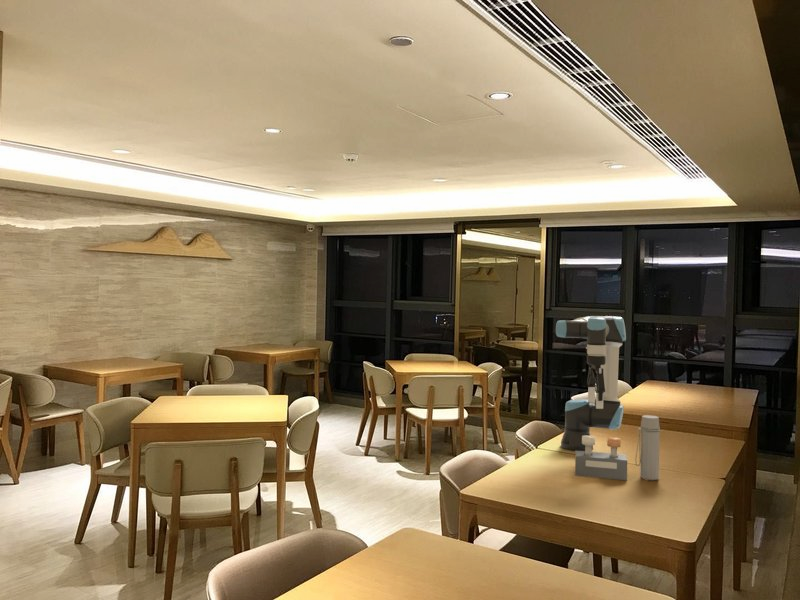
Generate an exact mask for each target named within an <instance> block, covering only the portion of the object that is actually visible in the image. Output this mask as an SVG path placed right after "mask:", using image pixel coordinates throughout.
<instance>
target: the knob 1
mask: <svg viewBox="0 0 800 600" xmlns="http://www.w3.org/2000/svg"><path fill="white" fill-rule="evenodd" d="M582 444H583V445H585V455H591V452H592V450H591V445H593V446H595V445H596V436H594V435H590V436H589V435H584V436H582Z"/></svg>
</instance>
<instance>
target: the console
mask: <svg viewBox="0 0 800 600" xmlns="http://www.w3.org/2000/svg"><path fill="white" fill-rule="evenodd" d="M574 462H575V465H574V470H575V471H574V477H575V476H576V477H584V478H585V477H586V478H594V479H608V480H617V481H628V457H627V455H626V454H624V453H623V454H621V453H617V458H615V457H611V452H610V453H609V452H600V451H599V452H597V451H595V452H594V451H591V455H585V451H575V461H574Z"/></svg>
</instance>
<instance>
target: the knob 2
mask: <svg viewBox="0 0 800 600" xmlns="http://www.w3.org/2000/svg"><path fill="white" fill-rule="evenodd" d="M621 440H622V439H621V438H619V437H615V436H613V437H612V436H611V437H610V436H608V437H607V441H606V444H607V445H606V446H607V447H609V448H610V453H611V457H615V458H617V454H618V448H621V443H622V441H621Z"/></svg>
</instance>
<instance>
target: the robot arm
mask: <svg viewBox="0 0 800 600" xmlns="http://www.w3.org/2000/svg"><path fill="white" fill-rule="evenodd" d="M555 335H556V337H558V338H564V339H566V338H568V339H569V338H571V339H575V338H576V339H585V340H586V347H585V349H586V353H587V355H586V364H587V365H588V373H587V380H586V385H587V388H588V390H587V399H586V398H577V399H570V400H568V401H566V402H565V407H564V408H565V409H564V431H563V436H562V438H561V441H560V447H561V448H563V449H564V450H565V449H566V450H570V451H575V452H576V451H585V445H583V444H582V436H584V435H589V436H591V433H590V432H591V431H590V430H591V429H590V428H595V429H606V430H619V429H620V427H621V425H622V421H623V415H624V405H623V404H621V400H620V399H619V398H618V387H619V382H618V381H619V362H620V361H619V355H620V347H622V346H623V342H626V341H627V333H626V325H625V321H624V318H623V317H621V316H614V315H609V316H608V315H605V316H603V315H590V316H589V315H587V316H583V317H577V318H575V319H573V320H565V319H562V320H557V322H556V323H555ZM593 449H594V445H591V451H592V450H593Z"/></svg>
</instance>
